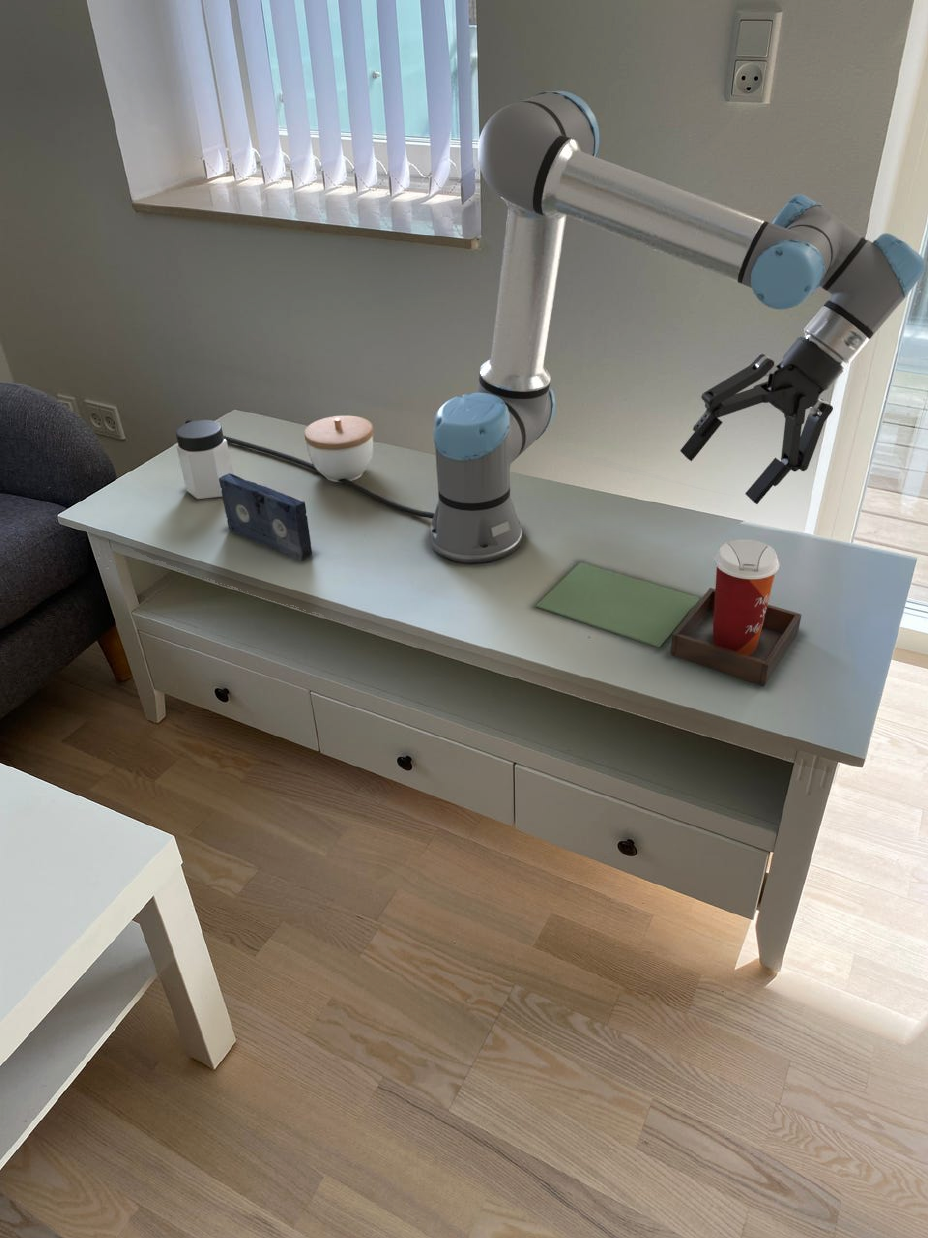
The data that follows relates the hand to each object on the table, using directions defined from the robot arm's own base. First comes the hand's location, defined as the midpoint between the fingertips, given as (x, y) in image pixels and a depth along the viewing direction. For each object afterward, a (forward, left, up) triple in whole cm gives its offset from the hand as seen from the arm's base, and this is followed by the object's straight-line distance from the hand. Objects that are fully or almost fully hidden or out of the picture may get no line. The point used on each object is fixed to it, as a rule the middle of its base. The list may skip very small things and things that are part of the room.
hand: (718, 478), depth 137 cm
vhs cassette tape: (-68, -23, -19) cm, 74 cm away
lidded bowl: (-73, +3, -19) cm, 76 cm away
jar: (-91, -14, -19) cm, 94 cm away
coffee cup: (+9, -11, -19) cm, 24 cm away
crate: (+9, -11, -18) cm, 23 cm away
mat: (-10, -10, -18) cm, 23 cm away
